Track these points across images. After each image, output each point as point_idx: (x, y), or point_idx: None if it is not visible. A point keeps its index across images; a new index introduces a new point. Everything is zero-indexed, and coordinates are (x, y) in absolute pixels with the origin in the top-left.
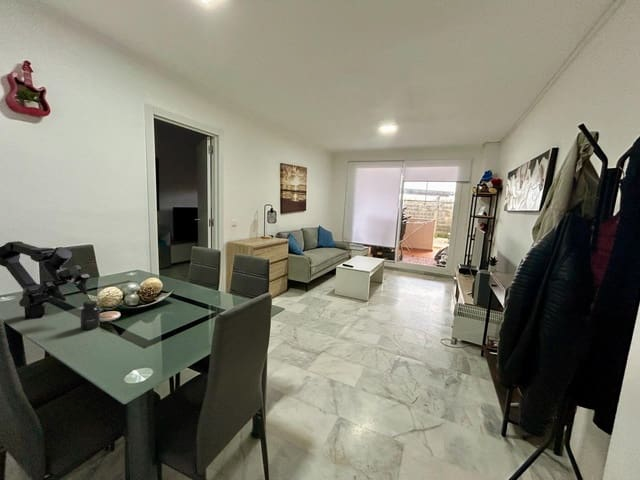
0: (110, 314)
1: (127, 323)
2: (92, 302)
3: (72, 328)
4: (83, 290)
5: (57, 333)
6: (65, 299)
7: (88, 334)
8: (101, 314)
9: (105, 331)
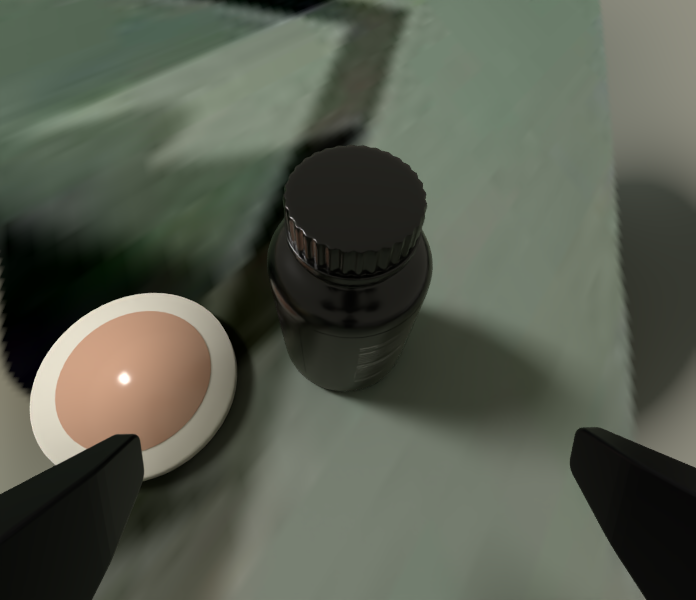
0: (118, 368)
1: (221, 188)
2: (342, 175)
3: (409, 437)
4: (65, 547)
5: (512, 453)
6: (592, 430)
7: None
8: None
9: None
